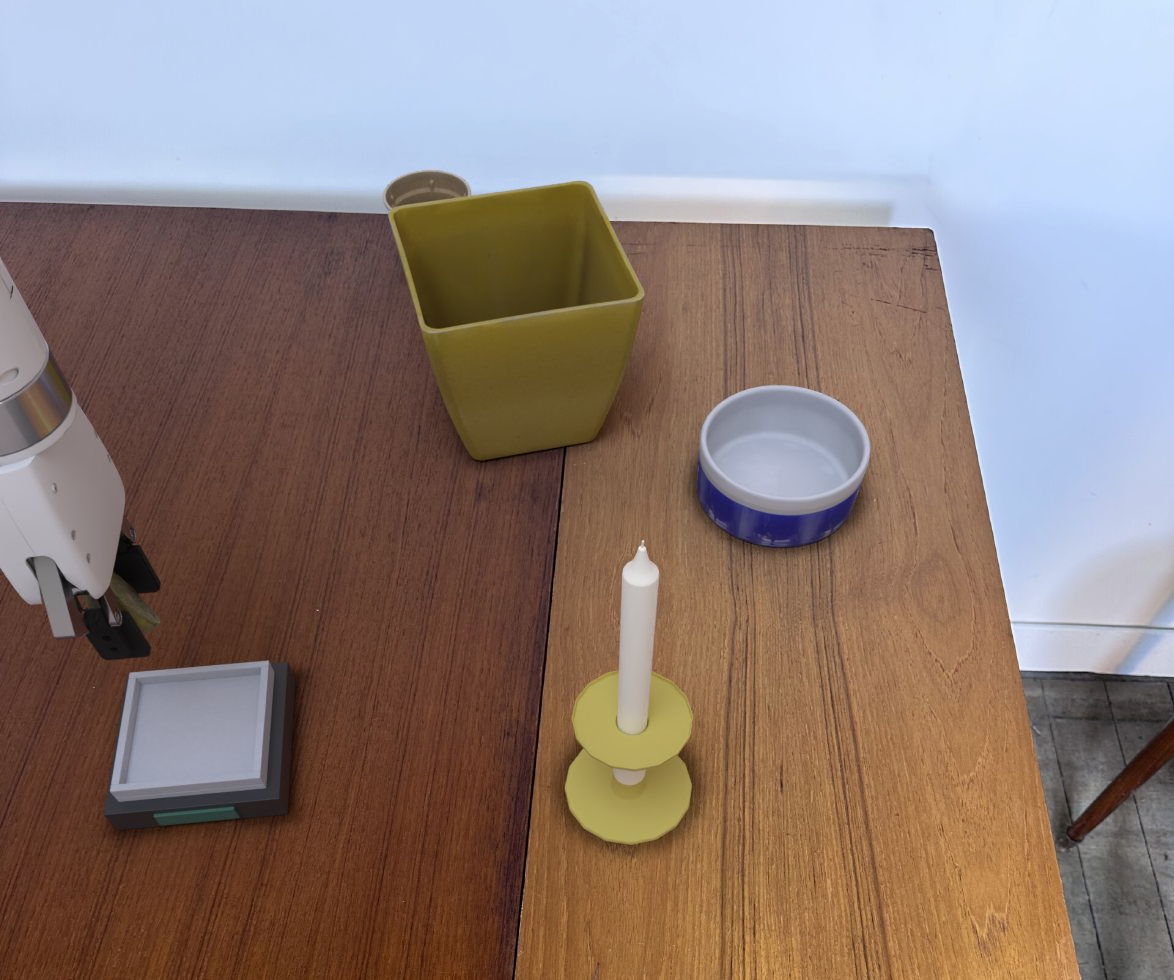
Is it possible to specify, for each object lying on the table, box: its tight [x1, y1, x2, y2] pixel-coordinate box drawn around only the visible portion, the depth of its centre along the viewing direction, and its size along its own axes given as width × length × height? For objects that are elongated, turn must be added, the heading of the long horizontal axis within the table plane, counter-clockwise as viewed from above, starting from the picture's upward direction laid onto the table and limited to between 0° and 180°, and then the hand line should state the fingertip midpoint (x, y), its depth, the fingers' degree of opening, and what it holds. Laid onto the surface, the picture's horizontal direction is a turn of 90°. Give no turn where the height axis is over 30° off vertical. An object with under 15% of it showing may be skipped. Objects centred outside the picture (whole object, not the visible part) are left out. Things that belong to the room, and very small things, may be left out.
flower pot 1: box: [382, 169, 472, 212], centre depth 107 cm, size 9×9×9 cm
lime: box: [82, 572, 161, 635], centre depth 64 cm, size 4×5×5 cm
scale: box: [103, 660, 296, 831], centre depth 76 cm, size 13×13×4 cm
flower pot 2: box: [387, 180, 645, 461], centre depth 91 cm, size 19×19×17 cm
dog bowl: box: [696, 384, 871, 548], centre depth 90 cm, size 15×15×6 cm
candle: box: [564, 539, 694, 846], centre depth 65 cm, size 10×10×27 cm
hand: (132, 620), depth 66 cm, fingers closed on lime, 5 cm apart
